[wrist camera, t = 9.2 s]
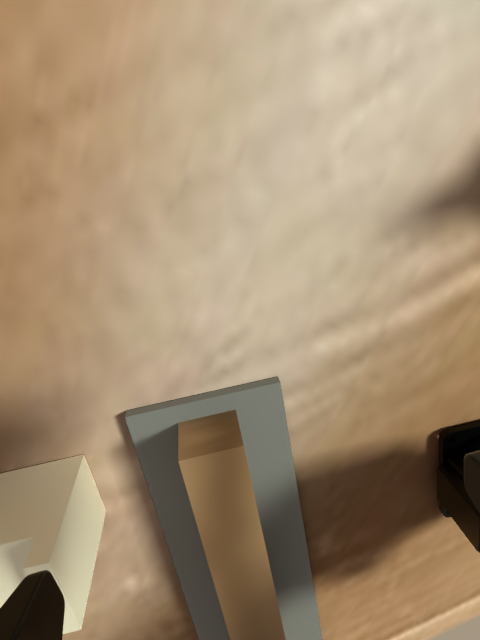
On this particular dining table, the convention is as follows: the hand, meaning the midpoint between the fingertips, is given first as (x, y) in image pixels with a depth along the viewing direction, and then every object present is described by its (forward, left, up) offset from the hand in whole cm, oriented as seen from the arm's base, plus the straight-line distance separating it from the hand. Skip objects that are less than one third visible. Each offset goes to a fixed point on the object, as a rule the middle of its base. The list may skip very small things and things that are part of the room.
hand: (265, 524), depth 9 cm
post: (+12, +8, -13) cm, 19 cm away
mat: (+2, +16, -13) cm, 20 cm away
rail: (+2, +16, -12) cm, 20 cm away
